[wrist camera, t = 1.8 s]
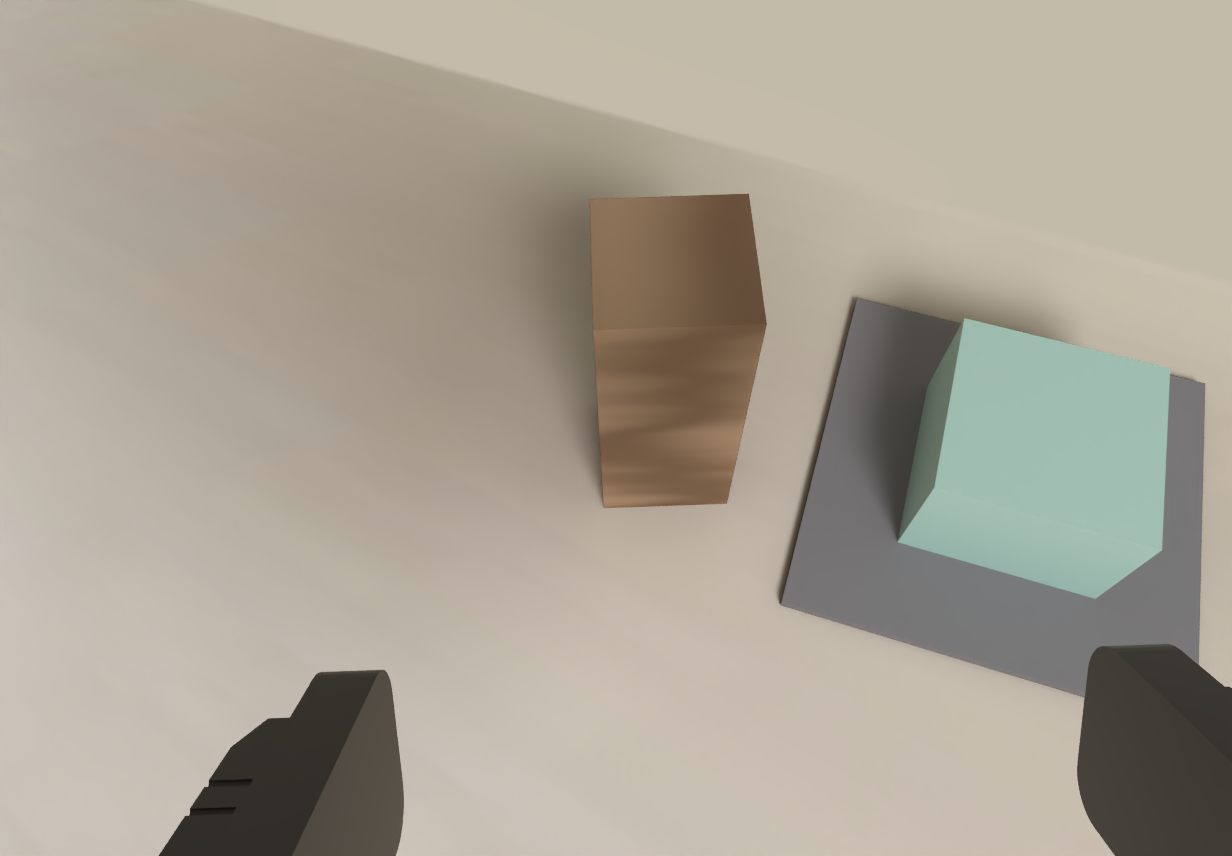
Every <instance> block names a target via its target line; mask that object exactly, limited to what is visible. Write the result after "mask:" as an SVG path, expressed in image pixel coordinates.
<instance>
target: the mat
mask: <svg viewBox="0 0 1232 856" xmlns="http://www.w3.org/2000/svg"><path fill="white" fill-rule="evenodd" d="M960 325H961V324H960V323H956V322H952V321H948V320H944V319H940V318H936V317H932V316H928V315H924V314H920V313H916V312H912V311H907V310H903V309H899V308H895V307H891V306H887V305H883V304H879V303H875V302H871V301H867V300H863V299H859V298H857V301H856V303H855V307H854V311H853V315H852V319H851V323H850V327H849V332H848V336H847V340H846V344H845V348H844V352H843V356H842V360H841V364H840V368H839V372H838V376H837V380H836V384H835V388H834V392H833V396H832V400H831V404H830V408H829V412H828V416H827V420H826V424H825V428H824V432H823V436H822V440H821V444H820V448H819V452H818V456H817V460H816V464H815V468H814V472H813V476H812V480H811V484H810V488H809V492H808V496H807V500H806V504H805V508H804V512H803V516H802V520H801V524H800V528H799V532H798V536H797V540H796V544H795V548H794V552H793V556H792V560H791V564H790V568H789V572H788V576H787V581H786V585H785V589H784V593H783V597H782V601H781V605H782V606H786V607H789V608H792V609H795V610H799V611H802V612H805V613H809V614H812V615H815V616H819V617H822V618H825V619H828V620H832V621H835V622H838V623H842V624H845V625H848V626H851V627H855V628H858V629H861V630H865V631H868V632H871V633H875V634H878V635H881V636H884V637H888V638H891V639H894V640H898V641H901V642H904V643H908V644H911V645H914V646H917V647H921V648H924V649H927V650H931V651H934V652H937V653H940V654H944V655H947V656H950V657H954V658H957V659H960V660H964V661H967V662H970V663H973V664H977V665H980V666H983V667H987V668H990V669H993V670H997V671H1000V672H1003V673H1006V674H1010V675H1013V676H1016V677H1020V678H1023V679H1026V680H1029V681H1033V682H1036V683H1039V684H1043V685H1046V686H1049V687H1053V688H1056V689H1059V690H1062V691H1066V692H1069V693H1072V694H1076V695H1079V696H1082V697H1085V691H1086V682H1087V672H1088V666H1089V661H1090V658H1091V656H1092V654H1093V652H1094V651H1095V650H1096V649H1097V648H1098V647H1101V646H1118V645H1146V644H1171V645H1174V646H1176V647H1177V648H1179V649H1180V650H1181V651H1183V652H1184V653H1185V654H1186V655H1187V656H1189V657H1190V658H1191V659H1192V660H1193V661H1194V662H1196V663H1197V664H1198V665H1199V628H1200V585H1201V542H1202V498H1203V455H1204V411H1205V383H1201V382H1197V381H1193V380H1189V379H1185V378H1181V377H1177V376H1172V375H1170V384H1169V406H1168V428H1167V451H1166V473H1165V495H1164V517H1163V540H1162V551H1160V552H1159V553H1158V554H1156V555H1155V556H1153V557H1152V558H1151V559H1149V560H1148V561H1147V562H1145V563H1144V564H1142V565H1141V566H1140V567H1138V568H1137V569H1136V570H1134V571H1133V572H1131V573H1130V574H1129V575H1127V576H1126V577H1125V578H1123V579H1122V580H1120V581H1119V582H1118V583H1116V584H1115V585H1114V586H1112V587H1111V588H1110V589H1108V590H1107V591H1105V592H1104V593H1103V594H1101V595H1100V596H1099V597H1097V598H1096V599H1094V598H1091V597H1087V596H1084V595H1080V594H1077V593H1073V592H1070V591H1066V590H1063V589H1059V588H1056V587H1052V586H1049V585H1045V584H1042V583H1038V582H1035V581H1031V580H1028V579H1024V578H1021V577H1017V576H1014V575H1010V574H1007V573H1003V572H1000V571H996V570H993V569H989V568H986V567H982V566H979V565H975V564H972V563H968V562H965V561H961V560H958V559H954V558H951V557H947V556H944V555H940V554H937V553H933V552H930V551H926V550H923V549H919V548H916V547H912V546H909V545H905V544H902V543H898V537H899V531H900V526H901V521H902V516H903V511H904V505H905V500H906V495H907V490H908V485H909V479H910V474H911V469H912V464H913V459H914V453H915V448H916V443H917V438H918V433H919V427H920V422H921V417H922V412H923V407H924V401H925V396H926V391H927V386H928V385H929V383H930V381H931V379H932V377H933V375H934V373H935V372H936V370H937V368H938V366H939V364H940V362H941V360H942V359H943V357H944V355H945V353H946V351H947V349H948V348H949V346H950V344H951V342H952V340H953V338H954V336H955V335H956V333H957V331H958V329H959V327H960Z"/></svg>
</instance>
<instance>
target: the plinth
mask: <svg viewBox="0 0 1232 856" xmlns="http://www.w3.org/2000/svg"><path fill="white" fill-rule="evenodd" d="M1169 384H1170V368H1167V367H1163V366H1159V365H1155V364H1151V363H1146V362H1142V361H1138V360H1134V359H1130V358H1126V357H1122V356H1118V355H1114V354H1110V353H1105V352H1101V351H1097V350H1093V349H1089V348H1085V347H1081V346H1077V345H1073V344H1069V343H1065V342H1060V341H1056V340H1052V339H1048V338H1044V337H1040V336H1036V335H1032V334H1028V333H1024V332H1019V331H1015V330H1011V329H1007V328H1003V327H999V326H995V325H991V324H987V323H983V322H979V321H974V320H970V319H966V318H964V320H963V322H962V323H961V325H960V327H959V329H958V331H957V333H956V335H955V336H954V338H953V340H952V342H951V344H950V346H949V348H948V349H947V351H946V353H945V355H944V357H943V359H942V360H941V362H940V364H939V366H938V368H937V370H936V372H935V373H934V375H933V377H932V379H931V381H930V383H929V385H928V386H927V391H926V396H925V401H924V407H923V412H922V417H921V422H920V427H919V433H918V438H917V443H916V448H915V453H914V459H913V464H912V469H911V474H910V479H909V485H908V490H907V495H906V500H905V505H904V511H903V516H902V521H901V526H900V531H899V537H898V543H902V544H905V545H909V546H912V547H916V548H919V549H923V550H926V551H930V552H933V553H937V554H940V555H944V556H947V557H951V558H954V559H958V560H961V561H965V562H968V563H972V564H975V565H979V566H982V567H986V568H989V569H993V570H996V571H1000V572H1003V573H1007V574H1010V575H1014V576H1017V577H1021V578H1024V579H1028V580H1031V581H1035V582H1038V583H1042V584H1045V585H1049V586H1052V587H1056V588H1059V589H1063V590H1066V591H1070V592H1073V593H1077V594H1080V595H1084V596H1087V597H1091V598H1094V599H1096V598H1097V597H1099V596H1100V595H1101V594H1103V593H1104V592H1105V591H1107V590H1108V589H1110V588H1111V587H1112V586H1114V585H1115V584H1116V583H1118V582H1119V581H1120V580H1122V579H1123V578H1125V577H1126V576H1127V575H1129V574H1130V573H1131V572H1133V571H1134V570H1136V569H1137V568H1138V567H1140V566H1141V565H1142V564H1144V563H1145V562H1147V561H1148V560H1149V559H1151V558H1152V557H1153V556H1155V555H1156V554H1158V553H1159V552H1160V551H1162V540H1163V517H1164V495H1165V473H1166V451H1167V428H1168V406H1169Z"/></svg>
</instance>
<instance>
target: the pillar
mask: <svg viewBox="0 0 1232 856" xmlns="http://www.w3.org/2000/svg"><path fill="white" fill-rule="evenodd" d="M590 230H591V269H592V309H593V338H594V354H595V371H596V387H597V404H598V421H599V437H600V454H601V470H602V487H603V503H604V508H616V507H644V506H672V505H700V504H727V500H728V495H729V491H730V486H731V482H732V477H733V473H734V468H735V464H736V459H737V455H738V450H739V446H740V441H741V437H742V433H743V428H744V424H745V419H746V415H747V410H748V406H749V401H750V397H751V392H752V388H753V383H754V379H755V374H756V370H757V365H758V361H759V356H760V352H761V347H762V343H763V338H764V334H765V329H766V325H767V323H766V316H765V309H764V302H763V294H762V287H761V280H760V272H759V265H758V258H757V250H756V243H755V236H754V228H753V221H752V214H751V207H750V199H749V194H729V195H699V196H670V197H640V198H611V199H590Z"/></svg>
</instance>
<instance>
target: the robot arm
mask: <svg viewBox="0 0 1232 856" xmlns="http://www.w3.org/2000/svg"><path fill="white" fill-rule="evenodd" d="M1077 777H1078V785H1079V790H1080V795H1081V799H1082V802H1083V805H1084V808H1085V810H1086V813H1087V815H1088V817H1089V819H1090V821H1091V823H1092V824H1093V826H1094V827H1095V829H1096V830H1097V832H1098V833H1099V834H1100V836H1101V837H1102V838H1103V840H1104V841H1105V843H1106V844H1107V845H1108V847H1109V848H1110V849H1111V851H1112V852H1113V853H1114V855H1115V856H1232V688H1230V687H1224V686H1223V685H1222V684H1221V683H1219V682H1218V681H1217V680H1216V679H1215V678H1214V677H1212V676H1211V675H1210V674H1209V673H1208V672H1206V671H1205V670H1204V669H1203V668H1202V667H1200V666H1199V665H1198V664H1197V663H1196V662H1194V661H1193V660H1192V659H1191V658H1190V657H1189V656H1187V655H1186V654H1185V653H1184V652H1183V651H1181V650H1180V649H1179V648H1177V647H1176V646H1174V645H1171V644H1146V645H1118V646H1101V647H1098V648H1097V649H1096V650H1095V651H1094V652H1093V654H1092V656H1091V658H1090V661H1089V666H1088V672H1087V682H1086V691H1085V700H1084V709H1083V718H1082V727H1081V736H1080V745H1079V754H1078V765H1077ZM403 810H404V792H403V781H402V772H401V764H400V755H399V746H398V738H397V729H396V720H395V712H394V703H393V695H392V687H391V682H390V679H389V676H388V674H387V672H386V671H385V670H366V671H338V672H320V673H318V674H316V675H315V677H314V678H313V680H312V681H311V683H310V685H309V687H308V688H307V690H306V692H305V693H304V695H303V697H302V698H301V700H300V702H299V703H298V705H297V707H296V708H295V710H294V712H293V713H292V715H291V717H290V718H271V719H267V720H266V721H265V722H263V723H262V724H261V725H259V726H258V727H257V728H255V729H254V730H253V731H252V732H250V733H249V734H248V735H246V736H245V737H244V738H242V739H241V740H240V741H239V742H237V743H236V744H235V745H233V746H232V747H231V748H230V750H229V751H228V753H227V754H226V756H225V757H224V759H223V760H222V762H221V763H220V765H219V766H218V768H217V769H216V771H215V772H214V774H213V775H212V777H211V778H210V780H209V786H208V787H204V789H203V790H202V792H201V793H200V795H199V796H198V798H197V799H196V801H195V802H194V804H193V805H192V807H191V808H190V815H189V816H185V817H184V819H183V820H182V822H181V823H180V825H179V826H178V828H177V829H176V831H175V832H174V834H173V835H172V837H171V838H170V840H169V841H168V843H167V844H166V846H165V847H164V849H163V850H162V852H161V853H160V855H159V856H396V853H397V850H398V846H399V842H400V837H401V831H402V824H403Z"/></svg>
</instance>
